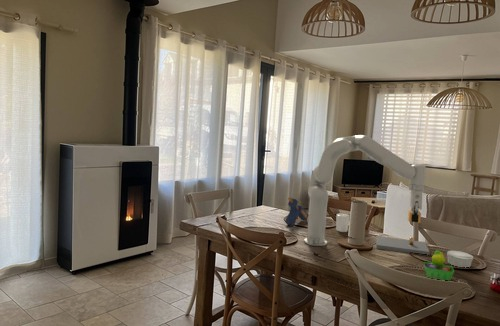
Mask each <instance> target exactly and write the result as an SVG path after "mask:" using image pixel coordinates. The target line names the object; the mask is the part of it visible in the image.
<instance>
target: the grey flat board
mask: <svg viewBox="0 0 500 326" xmlns="http://www.w3.org/2000/svg"><path fill="white" fill-rule="evenodd" d="M375 246H376V249H379V250H386V251H394V252H400V253H407V254H411V253H410V252H416V253H421V254H427V255H426V256H428V255H429V256H430V254H431V253H430V250H429V248H428V245H427V244H426V241H420V240H414V244H413V245H409V239H406V238H405V239H404V238H396V237H388V236H380V235H376V236H375ZM421 254H420V255H421Z"/></svg>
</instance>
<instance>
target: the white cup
mask: <svg viewBox="0 0 500 326" xmlns="http://www.w3.org/2000/svg"><path fill="white" fill-rule="evenodd" d="M335 215H336V218H335V219H336V221H335V222H336V223H335V224H336V225H335V227H336V228H335V230H336V231H337V232H340V233H347V232H348V229H349V224H350V214H347V213H336V214H335Z"/></svg>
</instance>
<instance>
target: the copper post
mask: <svg viewBox="0 0 500 326" xmlns="http://www.w3.org/2000/svg"><path fill="white" fill-rule="evenodd" d="M408 240H409V245H413V244H414V241H415V238H414V237H413V236H411V237H409V239H408Z"/></svg>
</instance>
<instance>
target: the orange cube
mask: <svg viewBox="0 0 500 326" xmlns="http://www.w3.org/2000/svg"><path fill="white" fill-rule="evenodd" d="M412 214H413V211H411V209H410V210H408V213H407V221H408V222H409V223H413V222H412V221H411V219H412ZM418 215H419V216H418V222H416V223H418V224H421V218H422V213H421V211H420V210H419V212H418Z"/></svg>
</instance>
